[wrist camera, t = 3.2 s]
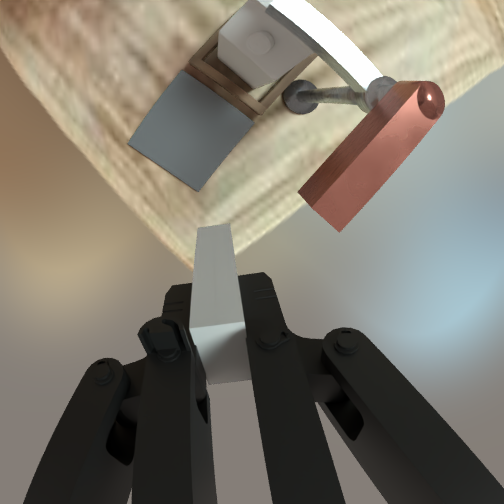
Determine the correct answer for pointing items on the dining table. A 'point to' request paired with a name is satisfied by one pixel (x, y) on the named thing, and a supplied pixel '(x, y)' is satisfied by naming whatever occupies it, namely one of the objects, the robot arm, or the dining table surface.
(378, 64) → the dining table surface
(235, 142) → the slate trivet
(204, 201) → the dining table surface
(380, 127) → the signpost
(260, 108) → the frame
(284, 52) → the milk carton
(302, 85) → the base
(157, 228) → the dining table surface
